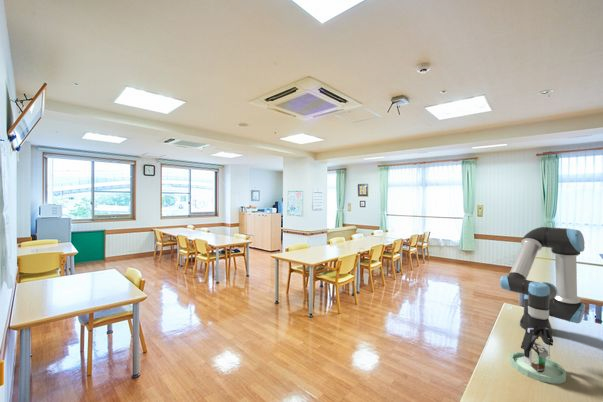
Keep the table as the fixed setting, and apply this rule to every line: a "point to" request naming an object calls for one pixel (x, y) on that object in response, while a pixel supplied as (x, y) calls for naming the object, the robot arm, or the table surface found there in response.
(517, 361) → the tray
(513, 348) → the table surface
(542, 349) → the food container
